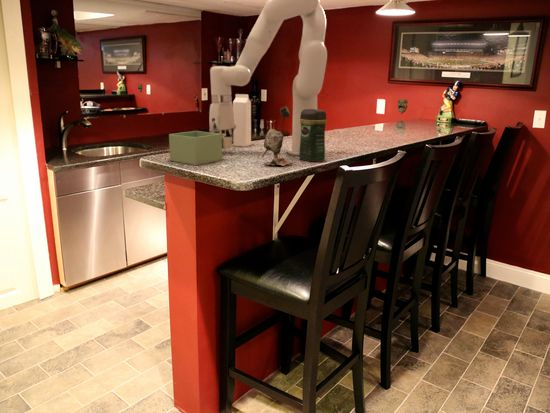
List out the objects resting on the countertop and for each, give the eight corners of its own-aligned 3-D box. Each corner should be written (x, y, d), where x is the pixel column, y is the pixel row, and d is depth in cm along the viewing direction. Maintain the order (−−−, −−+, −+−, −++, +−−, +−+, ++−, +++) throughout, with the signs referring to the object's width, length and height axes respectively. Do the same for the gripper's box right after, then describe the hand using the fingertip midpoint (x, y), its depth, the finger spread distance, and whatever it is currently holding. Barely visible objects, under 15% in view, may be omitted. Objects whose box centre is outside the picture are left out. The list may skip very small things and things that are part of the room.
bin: (222, 159, 164) (221, 133, 161) (196, 165, 153) (195, 137, 151) (196, 155, 171) (195, 130, 168) (170, 160, 161) (168, 134, 158)
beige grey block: (232, 147, 177) (231, 137, 176) (224, 148, 173) (224, 138, 172) (222, 146, 180) (222, 136, 179) (214, 147, 176) (214, 137, 175)
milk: (238, 144, 201) (238, 93, 195) (251, 145, 199) (251, 94, 193) (233, 146, 195) (232, 94, 189) (246, 146, 194) (245, 94, 187)
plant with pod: (272, 160, 163) (272, 105, 157) (295, 165, 156) (297, 106, 150) (256, 163, 157) (256, 105, 152) (279, 168, 150) (280, 107, 144)
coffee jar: (328, 160, 164) (330, 109, 159) (311, 163, 160) (313, 110, 155) (311, 156, 172) (313, 107, 167) (295, 158, 168) (296, 108, 162)
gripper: (228, 98, 180) (230, 143, 185) (198, 100, 167) (201, 149, 172) (243, 98, 176) (244, 145, 181) (213, 101, 162) (216, 151, 168)
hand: (223, 146), depth 176 cm, fingers closed on beige grey block, 4 cm apart
